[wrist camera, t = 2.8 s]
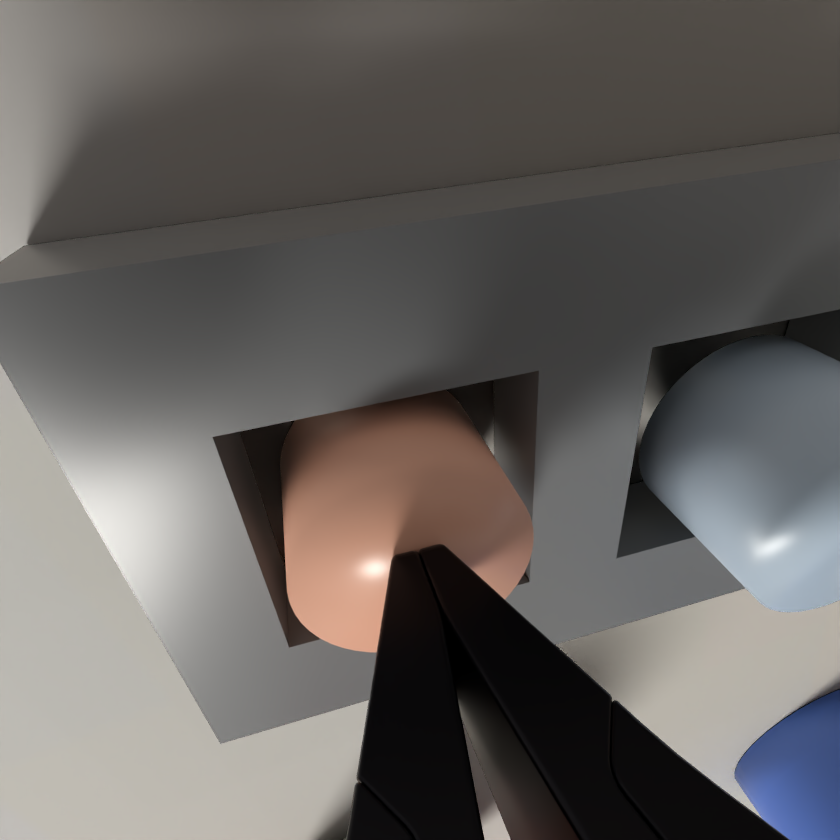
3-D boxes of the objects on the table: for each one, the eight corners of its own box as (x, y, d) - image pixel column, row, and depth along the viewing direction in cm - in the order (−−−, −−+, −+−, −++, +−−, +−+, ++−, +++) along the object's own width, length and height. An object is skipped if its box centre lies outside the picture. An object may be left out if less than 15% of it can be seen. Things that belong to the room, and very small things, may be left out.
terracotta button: (470, 354, 10) (538, 440, 8) (476, 510, 12) (530, 615, 10) (257, 396, 9) (256, 504, 7) (303, 552, 12) (314, 677, 9)
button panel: (1203, 82, 11) (1364, 81, 10) (973, 457, 17) (1051, 497, 15) (23, 245, 7) (-43, 289, 6) (225, 660, 13) (220, 743, 11)
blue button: (843, 317, 10) (1031, 391, 8) (782, 479, 12) (913, 578, 10) (656, 356, 9) (795, 451, 7) (626, 520, 12) (725, 636, 9)
